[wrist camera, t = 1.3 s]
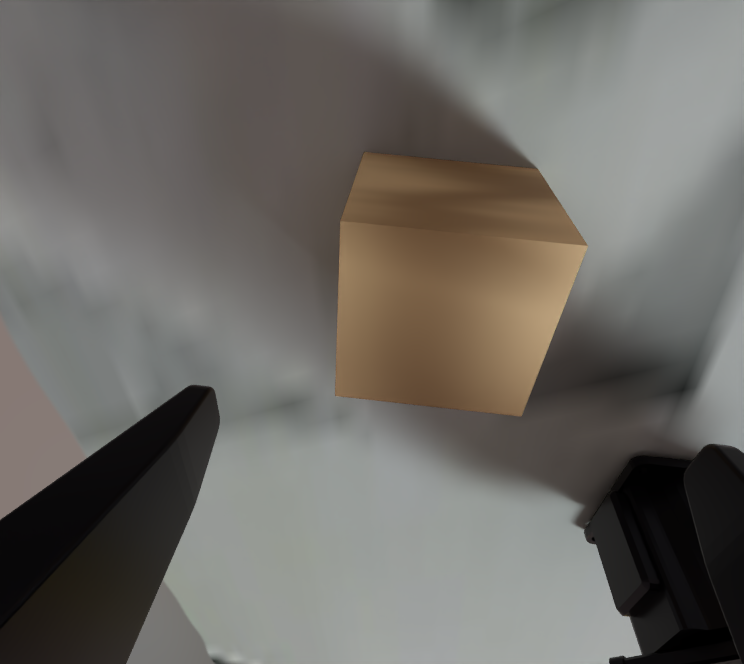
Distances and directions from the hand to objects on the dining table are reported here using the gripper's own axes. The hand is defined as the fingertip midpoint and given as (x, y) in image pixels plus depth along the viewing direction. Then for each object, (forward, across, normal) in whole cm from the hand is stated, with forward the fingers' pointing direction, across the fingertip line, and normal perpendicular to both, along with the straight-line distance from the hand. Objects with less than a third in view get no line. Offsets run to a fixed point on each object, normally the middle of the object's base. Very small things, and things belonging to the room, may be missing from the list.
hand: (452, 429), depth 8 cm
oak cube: (+8, 0, 0) cm, 8 cm away
